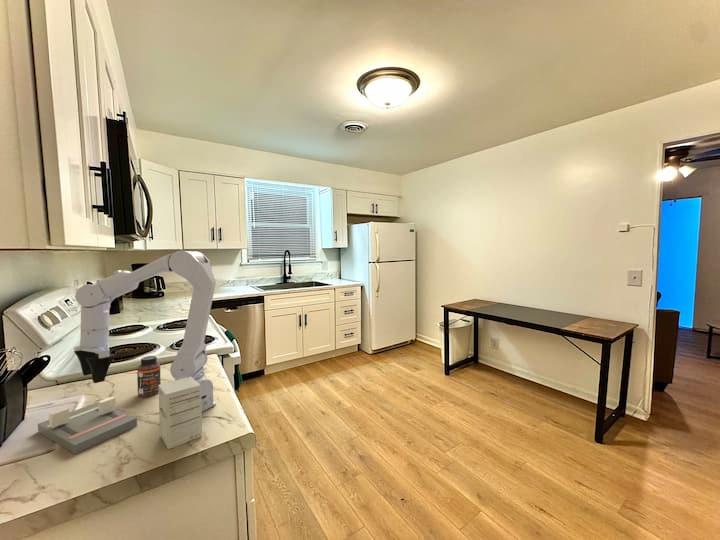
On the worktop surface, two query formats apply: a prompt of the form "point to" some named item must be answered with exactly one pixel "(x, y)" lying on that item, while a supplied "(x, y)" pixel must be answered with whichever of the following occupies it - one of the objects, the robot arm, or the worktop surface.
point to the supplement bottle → (148, 376)
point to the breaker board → (87, 428)
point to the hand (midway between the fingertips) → (93, 378)
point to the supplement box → (180, 411)
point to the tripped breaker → (106, 405)
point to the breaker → (59, 417)
